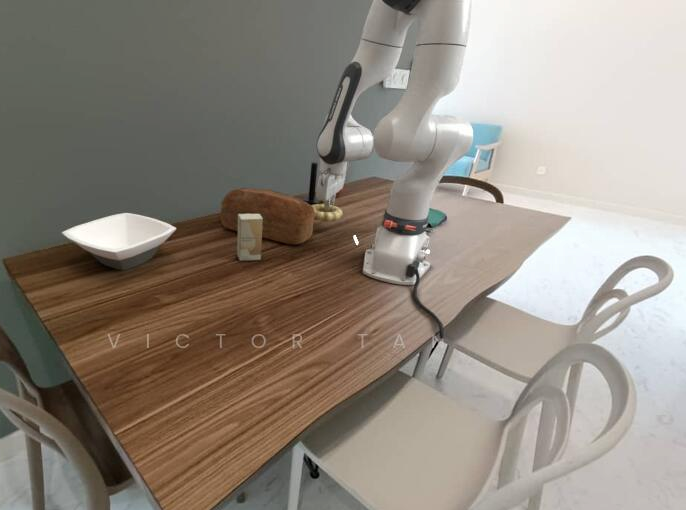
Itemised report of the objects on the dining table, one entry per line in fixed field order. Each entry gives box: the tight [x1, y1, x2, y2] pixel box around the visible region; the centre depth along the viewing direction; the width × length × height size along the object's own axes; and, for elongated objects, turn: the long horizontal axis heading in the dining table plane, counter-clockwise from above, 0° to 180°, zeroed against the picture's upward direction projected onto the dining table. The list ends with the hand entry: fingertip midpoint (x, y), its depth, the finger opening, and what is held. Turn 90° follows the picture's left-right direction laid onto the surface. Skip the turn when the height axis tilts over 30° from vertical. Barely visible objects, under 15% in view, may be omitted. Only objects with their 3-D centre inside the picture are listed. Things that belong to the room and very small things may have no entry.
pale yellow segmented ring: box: [311, 203, 343, 222], centre depth 132 cm, size 12×12×3 cm
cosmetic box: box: [236, 214, 263, 262], centre depth 108 cm, size 6×4×12 cm
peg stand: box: [297, 161, 324, 205], centre depth 156 cm, size 9×9×16 cm
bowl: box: [61, 212, 177, 271], centre depth 104 cm, size 22×23×8 cm
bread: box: [220, 187, 315, 246], centre depth 124 cm, size 12×31×14 cm, turn 65°
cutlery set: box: [425, 207, 448, 237], centre depth 146 cm, size 20×30×2 cm, turn 149°
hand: (328, 207), depth 135 cm, fingers closed on pale yellow segmented ring, 3 cm apart
